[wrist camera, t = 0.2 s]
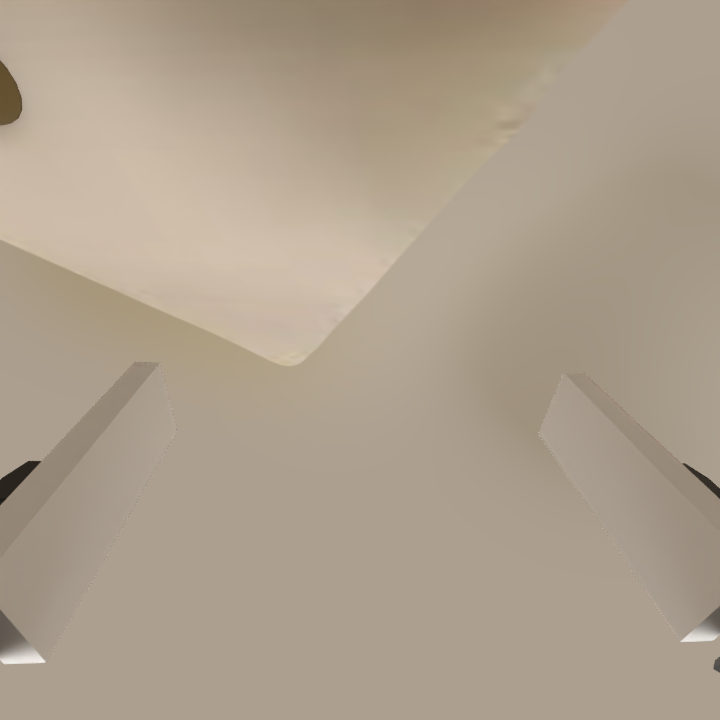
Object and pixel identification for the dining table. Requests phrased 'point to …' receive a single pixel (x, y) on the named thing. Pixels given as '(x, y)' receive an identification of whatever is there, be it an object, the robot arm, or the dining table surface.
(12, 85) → the olive tall rounded piece
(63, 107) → the dining table surface
